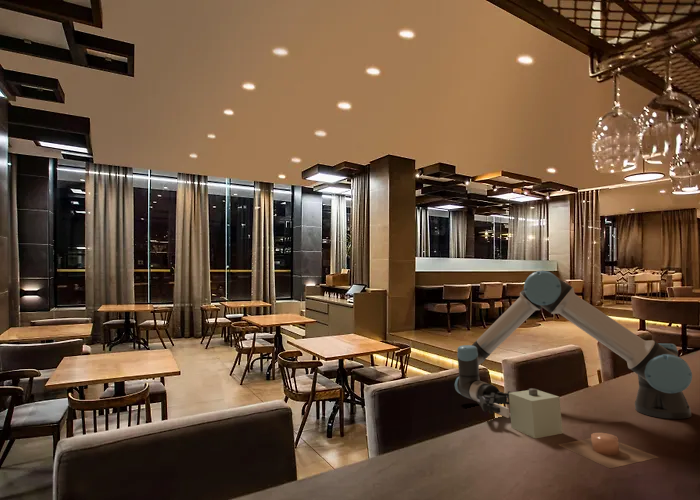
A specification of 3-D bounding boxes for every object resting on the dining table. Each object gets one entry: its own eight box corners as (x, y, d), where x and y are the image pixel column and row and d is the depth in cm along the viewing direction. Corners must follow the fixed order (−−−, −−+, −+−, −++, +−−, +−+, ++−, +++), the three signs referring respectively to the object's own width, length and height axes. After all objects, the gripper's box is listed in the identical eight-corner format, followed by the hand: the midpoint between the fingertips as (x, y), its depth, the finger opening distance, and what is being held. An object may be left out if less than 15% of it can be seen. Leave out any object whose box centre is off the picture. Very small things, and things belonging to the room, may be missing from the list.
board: (602, 440, 116) (602, 435, 116) (659, 462, 101) (659, 457, 101) (557, 449, 112) (557, 444, 112) (610, 473, 96) (609, 468, 97)
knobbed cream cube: (537, 424, 129) (534, 384, 130) (562, 435, 120) (558, 391, 121) (511, 429, 126) (508, 387, 127) (534, 440, 117) (531, 395, 118)
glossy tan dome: (609, 445, 110) (607, 432, 110) (625, 454, 104) (623, 440, 104) (587, 446, 109) (586, 433, 110) (602, 456, 103) (600, 441, 104)
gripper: (515, 400, 150) (560, 417, 129) (455, 409, 142) (493, 428, 122) (513, 379, 150) (558, 392, 130) (453, 387, 143) (491, 402, 123)
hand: (526, 410), depth 126 cm, fingers open, 13 cm apart
